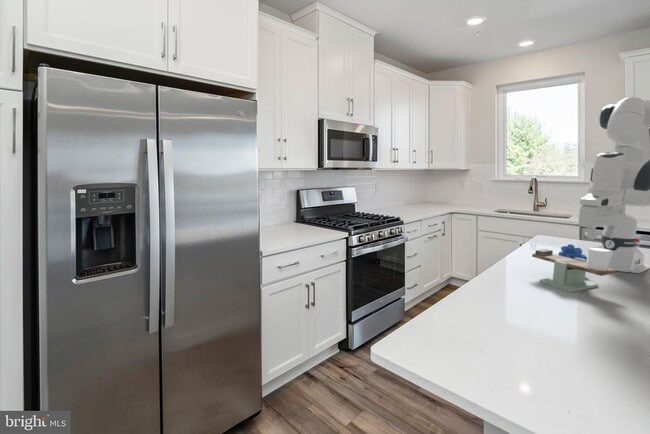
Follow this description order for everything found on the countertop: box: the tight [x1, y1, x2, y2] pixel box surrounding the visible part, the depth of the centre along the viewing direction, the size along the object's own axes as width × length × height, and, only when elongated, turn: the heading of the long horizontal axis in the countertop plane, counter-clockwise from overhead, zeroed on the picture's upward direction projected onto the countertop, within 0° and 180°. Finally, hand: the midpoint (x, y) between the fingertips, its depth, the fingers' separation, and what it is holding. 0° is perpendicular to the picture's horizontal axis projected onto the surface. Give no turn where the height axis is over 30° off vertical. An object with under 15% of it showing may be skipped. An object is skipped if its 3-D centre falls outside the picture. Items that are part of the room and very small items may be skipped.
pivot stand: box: [539, 258, 599, 293], centre depth 137 cm, size 16×12×10 cm
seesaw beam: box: [531, 248, 617, 277], centre depth 136 cm, size 26×10×4 cm, turn 23°
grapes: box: [557, 243, 588, 261], centre depth 152 cm, size 12×7×12 cm, turn 25°
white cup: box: [587, 246, 613, 271], centre depth 127 cm, size 7×7×7 cm
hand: (600, 238), depth 126 cm, fingers open, 8 cm apart
